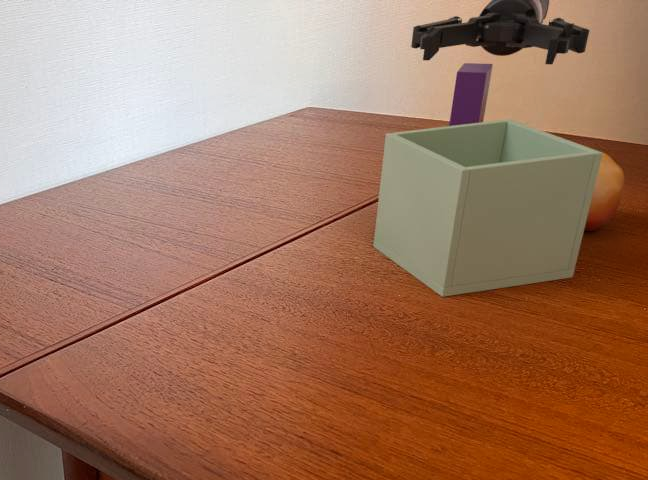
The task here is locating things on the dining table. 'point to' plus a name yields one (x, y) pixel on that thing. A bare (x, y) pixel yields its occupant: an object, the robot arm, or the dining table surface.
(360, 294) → the dining table surface
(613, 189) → the fruit
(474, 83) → the purple rectangular block
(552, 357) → the dining table surface
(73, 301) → the dining table surface
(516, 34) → the robot arm
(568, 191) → the bin
